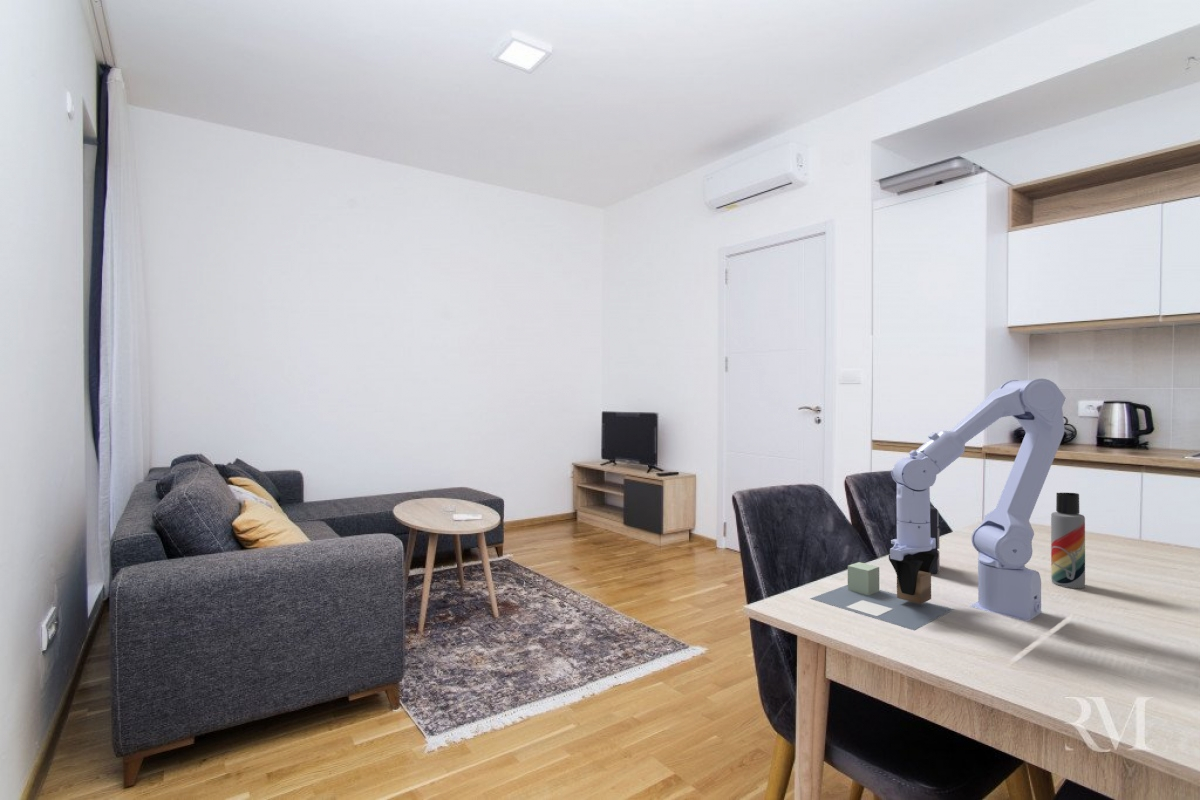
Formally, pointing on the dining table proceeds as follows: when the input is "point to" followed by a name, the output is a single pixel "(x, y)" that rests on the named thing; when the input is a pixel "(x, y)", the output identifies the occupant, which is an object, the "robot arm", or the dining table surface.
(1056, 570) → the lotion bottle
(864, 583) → the sage block
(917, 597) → the walnut block
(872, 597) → the grey mat
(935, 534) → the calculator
